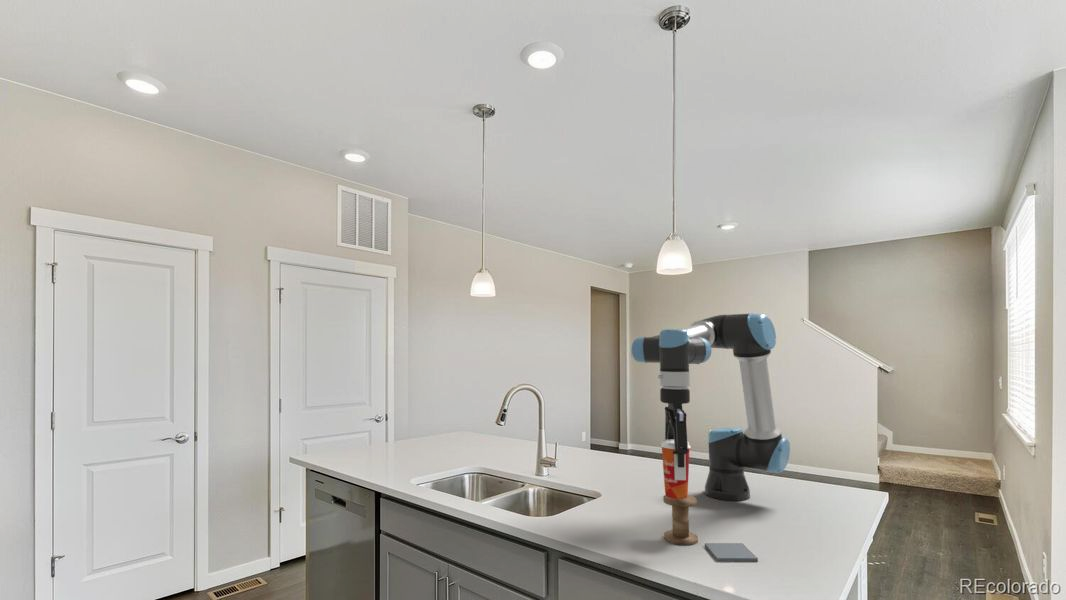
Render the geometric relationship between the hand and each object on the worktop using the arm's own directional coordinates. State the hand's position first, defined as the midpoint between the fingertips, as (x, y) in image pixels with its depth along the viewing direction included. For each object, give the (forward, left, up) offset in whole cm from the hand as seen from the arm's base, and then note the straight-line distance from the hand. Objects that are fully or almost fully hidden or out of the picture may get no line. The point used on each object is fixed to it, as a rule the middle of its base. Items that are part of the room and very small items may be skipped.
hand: (676, 475), depth 141 cm
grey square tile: (-13, +1, -19) cm, 23 cm away
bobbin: (-3, -9, -19) cm, 22 cm away
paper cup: (0, 0, -5) cm, 5 cm away
